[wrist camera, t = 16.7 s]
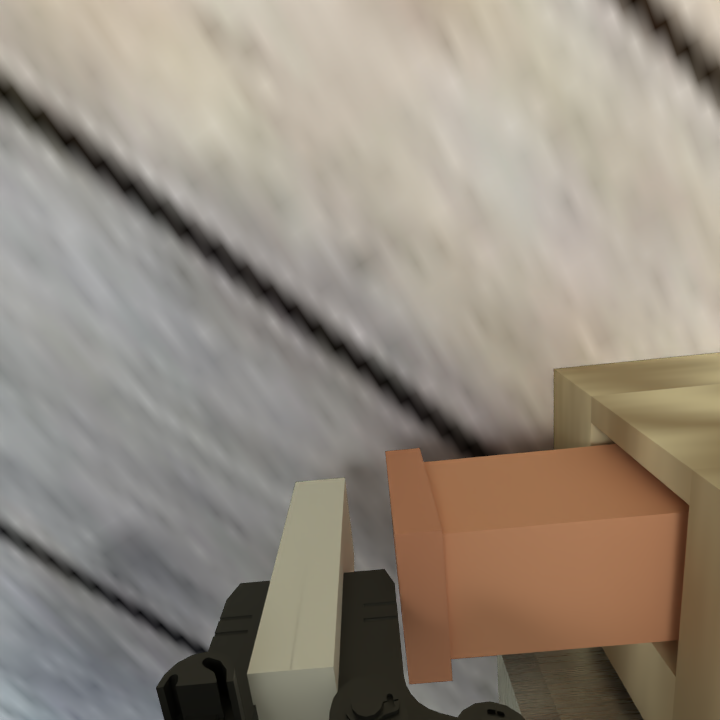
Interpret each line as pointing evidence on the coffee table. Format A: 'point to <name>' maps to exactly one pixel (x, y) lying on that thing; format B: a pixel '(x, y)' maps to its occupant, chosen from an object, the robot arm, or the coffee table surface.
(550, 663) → the grey plug middle
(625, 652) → the socket block
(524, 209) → the coffee table surface
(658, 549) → the terracotta plug
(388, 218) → the coffee table surface
